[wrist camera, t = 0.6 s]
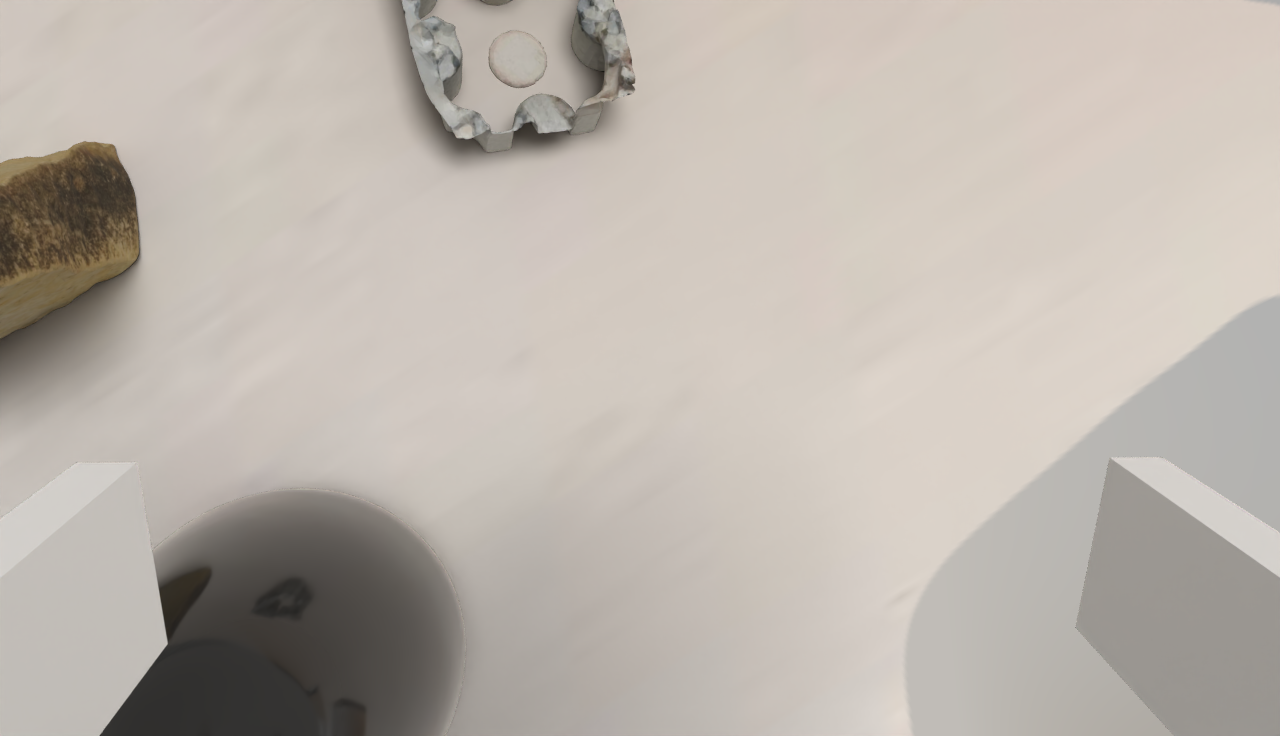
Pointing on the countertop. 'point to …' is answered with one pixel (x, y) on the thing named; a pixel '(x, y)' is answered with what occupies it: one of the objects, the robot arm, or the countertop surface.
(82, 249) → the rock
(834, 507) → the countertop surface
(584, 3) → the egg carton
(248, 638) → the pump dispenser
